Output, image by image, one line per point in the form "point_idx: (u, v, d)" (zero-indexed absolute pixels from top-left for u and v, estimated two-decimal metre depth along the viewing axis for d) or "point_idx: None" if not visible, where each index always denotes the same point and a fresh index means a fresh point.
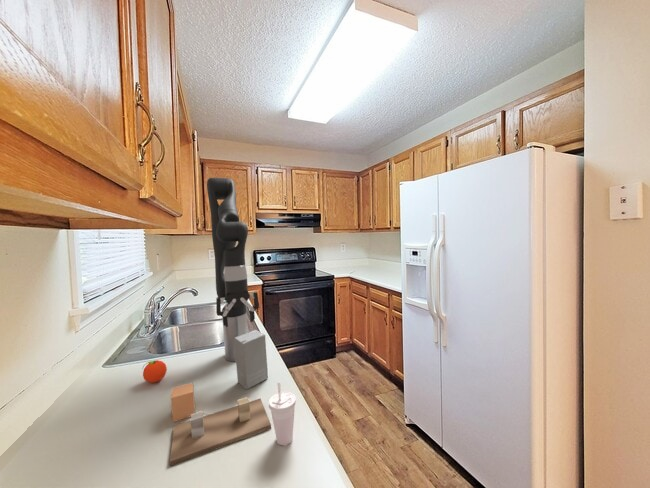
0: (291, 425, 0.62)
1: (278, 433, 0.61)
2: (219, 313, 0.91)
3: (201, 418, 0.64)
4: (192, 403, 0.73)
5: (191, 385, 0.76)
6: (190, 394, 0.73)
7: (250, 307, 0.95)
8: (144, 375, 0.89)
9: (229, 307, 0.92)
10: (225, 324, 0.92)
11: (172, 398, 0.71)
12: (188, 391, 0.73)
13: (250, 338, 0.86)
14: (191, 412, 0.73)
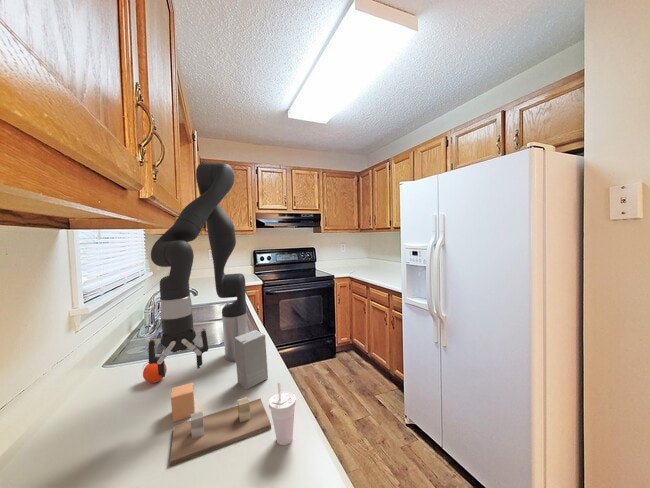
0: (291, 425, 0.62)
1: (278, 433, 0.61)
2: (152, 361, 0.70)
3: (201, 418, 0.64)
4: (192, 403, 0.73)
5: (191, 385, 0.76)
6: (190, 394, 0.73)
7: (196, 350, 0.74)
8: (144, 375, 0.89)
9: (166, 352, 0.71)
10: None
11: (172, 398, 0.71)
12: (188, 391, 0.73)
13: (250, 338, 0.86)
14: (191, 412, 0.73)
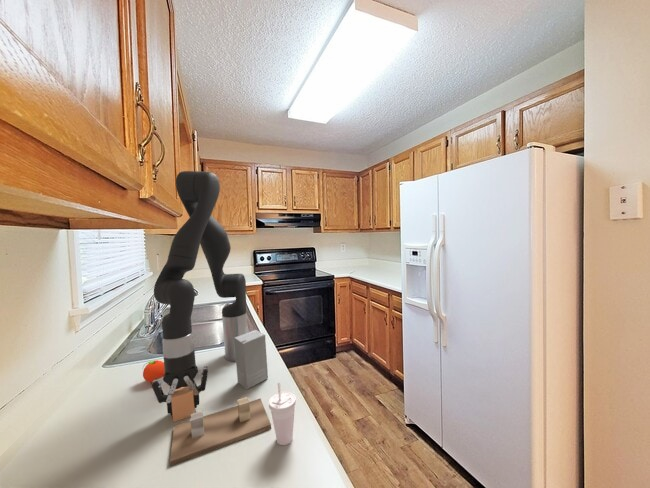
0: (291, 425, 0.62)
1: (278, 433, 0.61)
2: (161, 400, 0.71)
3: (201, 418, 0.64)
4: (192, 403, 0.73)
5: None
6: (190, 394, 0.73)
7: (194, 389, 0.74)
8: (144, 375, 0.89)
9: (172, 390, 0.72)
10: None
11: (172, 398, 0.71)
12: (188, 391, 0.73)
13: (250, 338, 0.86)
14: (191, 412, 0.73)
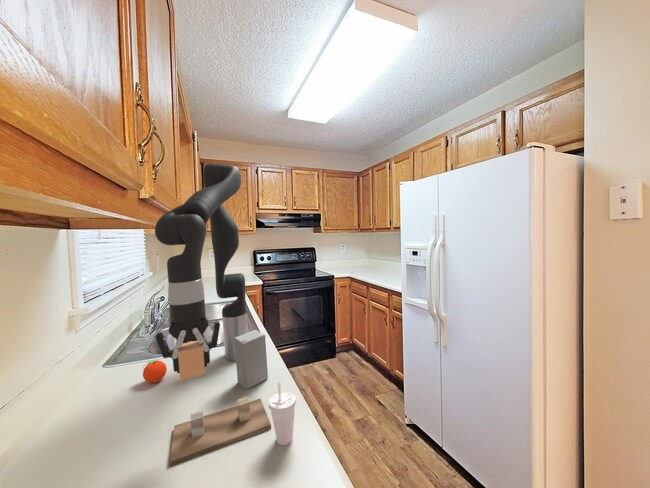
0: (291, 425, 0.62)
1: (278, 433, 0.61)
2: (166, 354, 0.61)
3: (201, 418, 0.64)
4: (202, 360, 0.63)
5: None
6: (200, 349, 0.63)
7: (204, 345, 0.64)
8: (144, 375, 0.89)
9: (178, 344, 0.61)
10: (176, 369, 0.62)
11: (179, 352, 0.61)
12: (198, 346, 0.63)
13: (250, 338, 0.86)
14: (201, 370, 0.63)
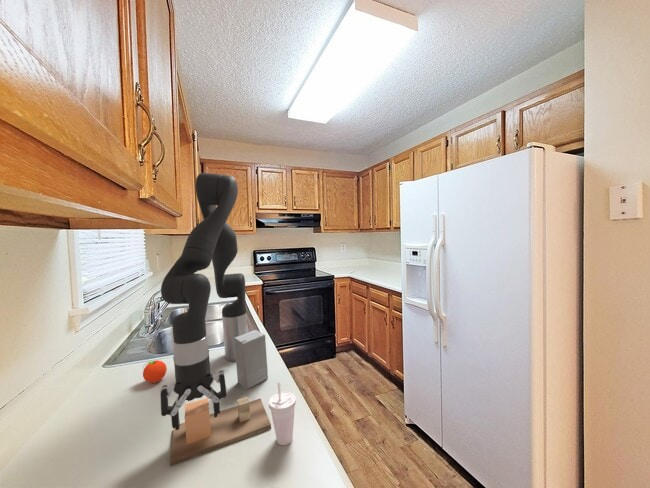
0: (291, 425, 0.62)
1: (278, 433, 0.61)
2: (165, 412, 0.61)
3: None
4: (208, 423, 0.64)
5: (206, 401, 0.67)
6: (206, 412, 0.64)
7: (213, 397, 0.65)
8: (144, 375, 0.89)
9: (180, 402, 0.62)
10: None
11: (186, 417, 0.62)
12: (204, 409, 0.64)
13: (250, 338, 0.86)
14: (207, 433, 0.64)
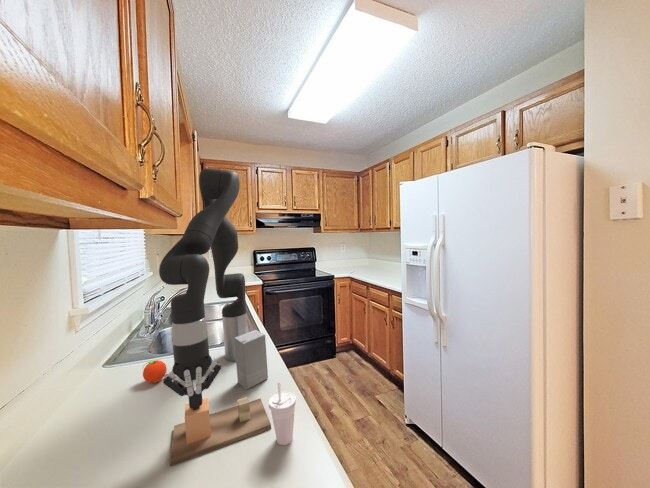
0: (291, 425, 0.62)
1: (278, 433, 0.61)
2: (183, 392, 0.62)
3: None
4: (208, 423, 0.64)
5: (206, 401, 0.67)
6: (206, 412, 0.64)
7: (198, 386, 0.64)
8: (144, 375, 0.89)
9: (188, 383, 0.62)
10: (192, 406, 0.64)
11: (186, 417, 0.62)
12: (204, 409, 0.64)
13: (250, 338, 0.86)
14: (207, 433, 0.64)
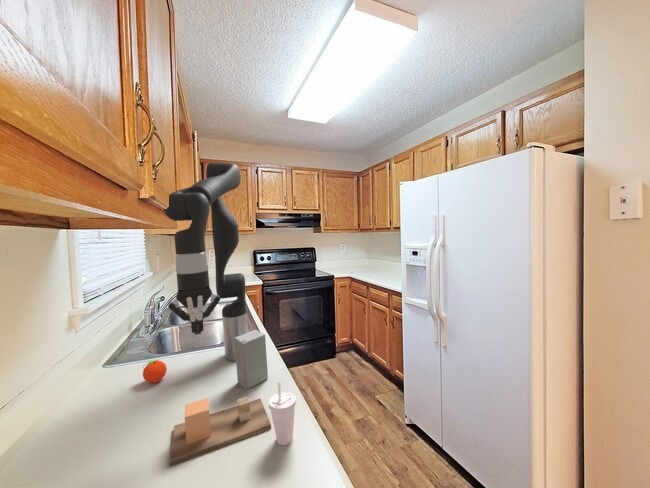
0: (291, 425, 0.62)
1: (278, 433, 0.61)
2: (186, 317, 0.69)
3: None
4: (208, 423, 0.64)
5: (206, 401, 0.67)
6: (206, 412, 0.64)
7: (200, 313, 0.71)
8: (144, 375, 0.89)
9: (190, 309, 0.69)
10: (194, 331, 0.71)
11: (186, 417, 0.62)
12: (204, 409, 0.64)
13: (250, 338, 0.86)
14: (207, 433, 0.64)
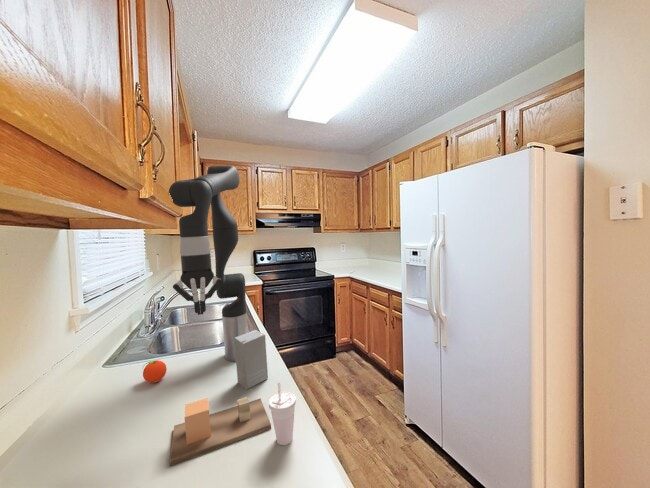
0: (291, 425, 0.62)
1: (278, 433, 0.61)
2: (189, 298, 0.73)
3: None
4: (208, 423, 0.64)
5: (206, 401, 0.67)
6: (206, 412, 0.64)
7: (202, 294, 0.75)
8: (144, 375, 0.89)
9: (194, 290, 0.73)
10: (197, 311, 0.75)
11: (186, 417, 0.62)
12: (204, 409, 0.64)
13: (250, 338, 0.86)
14: (207, 433, 0.64)
